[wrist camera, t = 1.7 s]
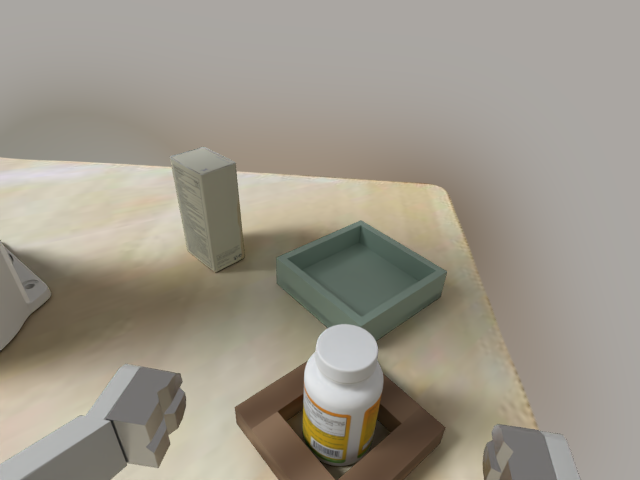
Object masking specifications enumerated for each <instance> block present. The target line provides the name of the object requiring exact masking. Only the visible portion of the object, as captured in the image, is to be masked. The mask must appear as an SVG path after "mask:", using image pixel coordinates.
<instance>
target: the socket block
mask: <svg viewBox="0 0 640 480" xmlns="http://www.w3.org/2000/svg"><path fill="white" fill-rule="evenodd" d="M307 362H308V361H307ZM307 362H305V363H304V364H302V365H301V366H299V367H297V368H296V369H294V370H293V371H291V372H290V373H288V374H286V375H285V376H283V377H282V378H280V379H279V380H277V381H275V382H274V383H272V384H271V385H269V386H268V387H266V388H264V389H263V390H261V391H260V392H258V393H257V394H255V395H253V396H252V397H250V398H249V399H247V400H246V401H244V402H242V403H241V404H239V405H238V406H236V407H235V413H236V422H237V424H238V426H239V427H240V428H241V430H242V431H243V432H244V434H245V435H246V436H247V438H248V439H249V440H250V442H251V443H252V444H253V446H254V447H255V448H256V450H257V451H258V452H259V454H260V455H261V457H262V458H263V459H264V461H265V462H266V463H267V465H268V466H269V467H270V469H271V470H272V471H273V473H274V474H275V475H276V477H277V478H278V479H279V480H335V479H334V478H333V477H332V475H331V474H330V473H329V472H328V471H327V470H326V468H325V467H324V466H323V465H322V464H321V462H320V461H319V460H318V459H317V458H316V457H315V455H314V454H313V453H312V452H311V451H310V449H309V448H308V447H307V446H306V445H305V444H304V442H303V441H302V440H301V439H300V438H299V436H298V435H297V434H296V433H295V432H294V431H293V429H292V428H291V427H290V426H289V425H288V423H287V422H286V421H287V420H288V419H290V418H291V417H293V416H294V415H295V414H297V413H298V412H300V411H301V410H302V409H303V399H304V372H305V367H306V364H307ZM377 419H378V420H379V421H380V422H381V423H382V424H383V425H384V426H385V427H386V428H387V429H388V430H389V431H390V432H391V433H390V434H389V435H388V436H387V437H386V438H385V439H383V440H382V441H381V442H380V443H379V444H378V445H377V446H376V447H374V448H373V449H372V450H371V451H370V452H369V453H368V454H366V455H365V456H364V457H363V458H362V459H361V460H360V461H358V462H357V463H356V464H355V465H354V466H353V467H352V468H351V469H349V470H348V471H347V472H346V473H345V474H344V475H343V476H341V477H340V478H339V479H338V480H403V479H404V478H405V477H406V476H407V475H408V474H409V473H410V472H411V471H412V470H413V469H414V468H415V467H416V466H417V465H418V464H419V463H421V462H422V461H423V460H424V459H425V458H426V457H427V456H428V455H429V454H430V453H431V452H432V451H433V450H434V449H435V448H436V447H437V446H438V445H439V444H440V442H441V439H442V436H443V433H444V431H445V427H444V426H443V425H442V424H441V423H440V422H438V421H437V420H436V419H435V418H434V417H433V416H432V415H430V414H429V413H428V412H427V411H426V410H425V409H423V408H422V407H421V406H420V405H419V404H418V403H417V402H415V401H414V400H413V399H412V398H411V397H410V396H408V395H407V394H406V393H405V392H404V391H403V390H402V389H400V388H399V387H398V386H397V385H396V384H395V383H393V382H392V381H391V380H390V379H389V378H388V377H387V376H385V375H384V374H383V390H382V395H381V400H380V405H379V410H378V415H377Z"/></svg>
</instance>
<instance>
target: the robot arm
mask: <svg viewBox="0 0 640 480" xmlns="http://www.w3.org/2000/svg"><path fill="white" fill-rule="evenodd" d="M50 296H51V291H50V290H49V288H48V286H47V285H46V284H45V283H44V282H43V281H42V280H41V279H40V278H39V277H38V276H36V275H35V274H34V273H33V272H32V271H31V270H30V269H29V268H28V267H27V266H26V265H24V264H23V263H22V262H21V261H20V260H19V259H18V258H17V257H16V256H15V255H13V254H12V253H11V252H10V251H9V250H8V249H7V248H6V247H5V246H4V245H3V244H2V242H1V240H0V350H2V349H3V348H4V347H5V346H6V345H7V344H8V343H9V342H10V341H11V340H12V339H13V338H14V336H15V335H16V334H17V333H18V331H19V330H20V328H21V327H22V325H23V324H24V322H25V320H26V319H27V318H28V316H29V315H30V314H31V313H32V312H34V311H35V310H36V309H37V308H39V307H40V306H41V305H42V304H43V303H45V302H46V301H47V300H48V299H49V297H50ZM182 382H183V381H182V378H181V374H180V373H174V372H169V371H163V370H158V369H152V368H146V367H142V366H136V365H129V364H124V365H123V366H122V367H121V368H119V369H118V371H117V372H116V374H115V375H114V376H113V378H112V379H111V381H110V382H109V383H108V385H107V386H106V388H105V389H104V391H103V392H102V393H101V395H100V396H99V398H98V399H97V400H96V402H95V403H94V405H93V406H92V407H91V409H90V410H89V412H88V413H87V414H86V416H82V415H80V416H78V417H77V418H75V419H73V420H72V421H70V422H68V423H67V424H65V425H63V426H62V427H60V428H59V429H57V430H55V431H54V432H52V433H50V434H49V435H47V436H45V437H44V438H42V439H41V440H39V441H37V442H36V443H34V444H32V445H31V446H29V447H27V448H26V449H24V450H23V451H21V452H19V453H18V454H16V455H14V456H13V457H11V458H9V459H8V460H6V461H5V462H3V463H1V464H0V480H111V479H112V478H113V477H114V476H115V475H116V474H118V473H119V472H120V471H121V470H122V469H123V468H125V467H126V466H127V463H129V464H135V465H141V466H148V467H154V468H159V466H160V464H161V462H162V460H163V458H164V456H165V454H166V452H167V450H168V448H169V446H170V440H169V434H171V433H172V432H173V431H175V430H176V429H178V427H179V425H180V423H181V421H182V418H183V415H184V411H185V408H186V396H185V392H184V391H183V390H182V389H181V388H180V386H181V384H182ZM492 438H493V440H492V441H490V442H488V443H487V444H486V447H485V450H484V455H483V474H484V480H581V479H580V476H579V473H578V471H577V468H576V465H575V462H574V459H573V456H572V453H571V451H570V448H569V445H568V442H567V439H565V437H564V436H563V435H562V434H558V433H550V432H543V431H539V430H535V429H528V428H521V427H514V426H507V425H501V424H497V425H495V426H494V428H493V430H492Z"/></svg>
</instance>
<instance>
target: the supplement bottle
mask: <svg viewBox="0 0 640 480" xmlns="http://www.w3.org/2000/svg"><path fill="white" fill-rule="evenodd" d="M377 358H378V345H377V342H376V340H375V339H374V337H373V336H372V335H371V334H370V333H369V332H368V331H366V330H365V329H363V328H361V327H358V326H355V325H349V324H340V325H335V326H332V327H329V328H328V329H326V330H325V331H323V332H322V333H321V335H320V336H319V338H318V340H317V343H316V352H314V353H313V355H312V356H311V357H310V358H309V360H308V362H307V364H306V367H305V372H304V399H303V438H304V441H305V444H306V446H307V447H308V448H309V449H310V451H311V452H312V453H313V454H314V455H315V457H316V458H317V459H319V460H320V461H322V462H324V463H326V464H329V465H333V466H346V465H350V464H353V463H355V462H357V461H359V460H360V459H361V458H362V457H363V456H364V455H365V454H366V453H367V452H368V450H369V448H370V446H371V444H372V440H373V436H374V431H375V425H376V420H377V415H378V410H379V405H380V400H381V395H382V390H383V372H382V369H381V366H380V364H379V363H378V361H377Z"/></svg>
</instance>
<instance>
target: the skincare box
mask: <svg viewBox="0 0 640 480" xmlns="http://www.w3.org/2000/svg"><path fill="white" fill-rule="evenodd" d="M170 160H171V166H172V171H173V177H174V182H175V187H176V192H177V197H178V203H179V208H180V213H181V218H182V224H183V229H184V234H185V239H186V245H187V250H188V251H189V252H190V253H191V254H192V255H193V256H195V257H196V258H197V259H198V260H200V261H201V262H202V263H203V264H205V265H206V266H207V267H209V268H210V269H211V270H213V271H214V272H217V271H219V270H221V269H223V268H225V267H227V266H229V265H231V264H233V263H235V262H237V261H239V260H241V259H243V258H244V257H245V253H244V243H243V233H242V224H241V213H240V204H239V193H238V183H237V173H236V163H235V162H234V161H232V160H230V159H228V158H226V157H224V156H222V155H220V154H218V153H216V152H214V151H211V150H209V149H207V148H205V147H201V148H198V149H194V150H191V151H187V152H184V153H181V154H177V155H174V156H171V157H170Z"/></svg>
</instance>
